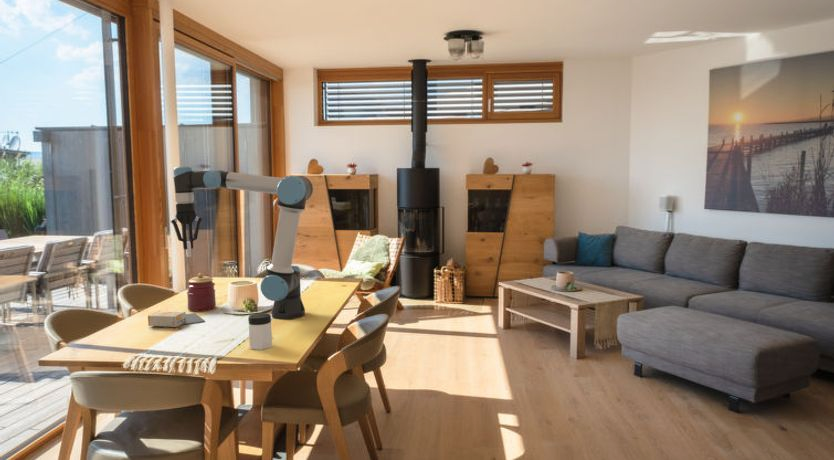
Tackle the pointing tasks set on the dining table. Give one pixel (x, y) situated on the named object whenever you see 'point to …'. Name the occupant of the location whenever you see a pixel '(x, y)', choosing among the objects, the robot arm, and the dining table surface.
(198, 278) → the canister
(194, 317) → the mat
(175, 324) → the supplement box
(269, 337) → the jar
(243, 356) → the dining table surface
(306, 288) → the dining table surface
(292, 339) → the dining table surface
